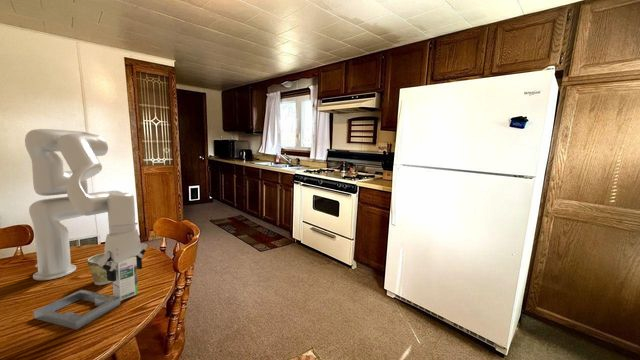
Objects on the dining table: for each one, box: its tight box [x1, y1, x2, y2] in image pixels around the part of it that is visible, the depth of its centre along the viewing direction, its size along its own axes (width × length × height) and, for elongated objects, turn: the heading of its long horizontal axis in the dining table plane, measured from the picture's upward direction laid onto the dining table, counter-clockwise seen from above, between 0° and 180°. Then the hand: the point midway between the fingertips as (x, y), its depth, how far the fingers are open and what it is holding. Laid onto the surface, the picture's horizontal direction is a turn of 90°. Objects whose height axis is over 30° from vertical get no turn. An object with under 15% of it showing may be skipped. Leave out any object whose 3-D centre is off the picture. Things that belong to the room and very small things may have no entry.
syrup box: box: [111, 256, 139, 302], centre depth 93 cm, size 6×6×14 cm
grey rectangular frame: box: [33, 289, 121, 330], centre depth 84 cm, size 18×13×2 cm
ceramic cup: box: [87, 252, 113, 286], centre depth 104 cm, size 13×10×10 cm
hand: (125, 274), depth 93 cm, fingers open, 9 cm apart
